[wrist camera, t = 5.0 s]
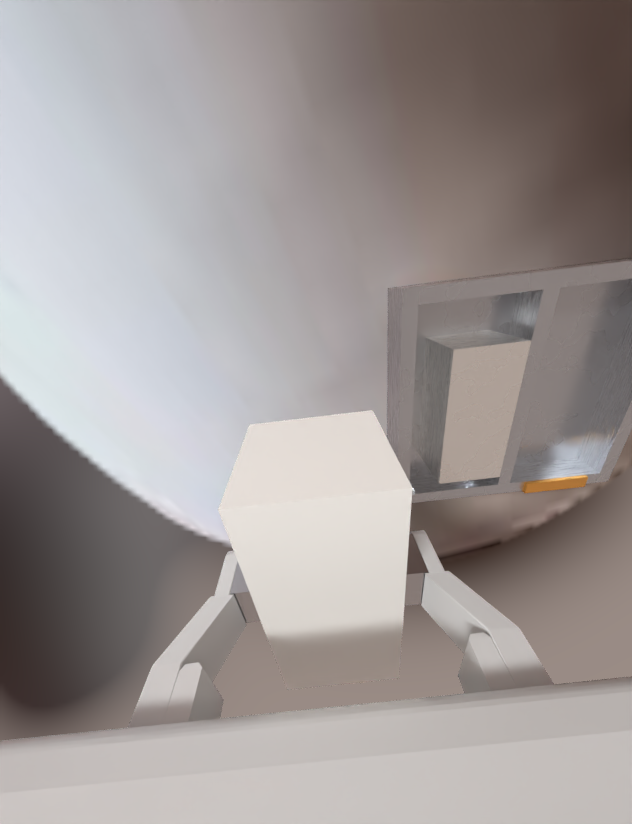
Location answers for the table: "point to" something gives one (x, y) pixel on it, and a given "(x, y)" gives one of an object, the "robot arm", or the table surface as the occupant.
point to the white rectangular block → (323, 545)
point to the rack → (511, 380)
